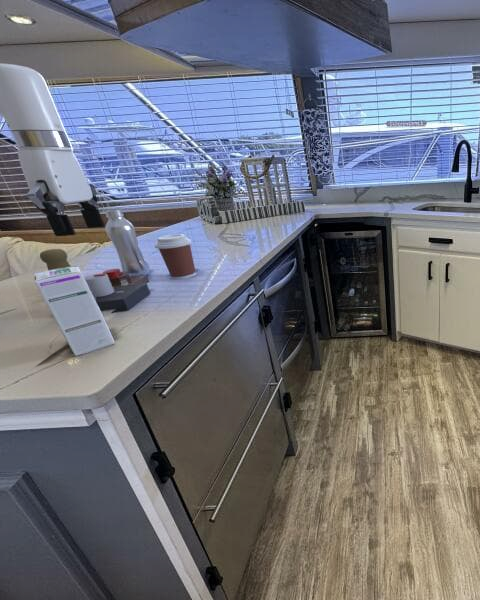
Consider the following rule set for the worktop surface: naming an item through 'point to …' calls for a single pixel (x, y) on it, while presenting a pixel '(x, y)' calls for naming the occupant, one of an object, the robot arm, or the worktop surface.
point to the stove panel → (123, 297)
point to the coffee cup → (177, 255)
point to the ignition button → (113, 273)
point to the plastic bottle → (125, 243)
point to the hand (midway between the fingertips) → (82, 231)
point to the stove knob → (99, 284)
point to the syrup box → (74, 309)
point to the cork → (55, 258)
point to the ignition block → (128, 279)
